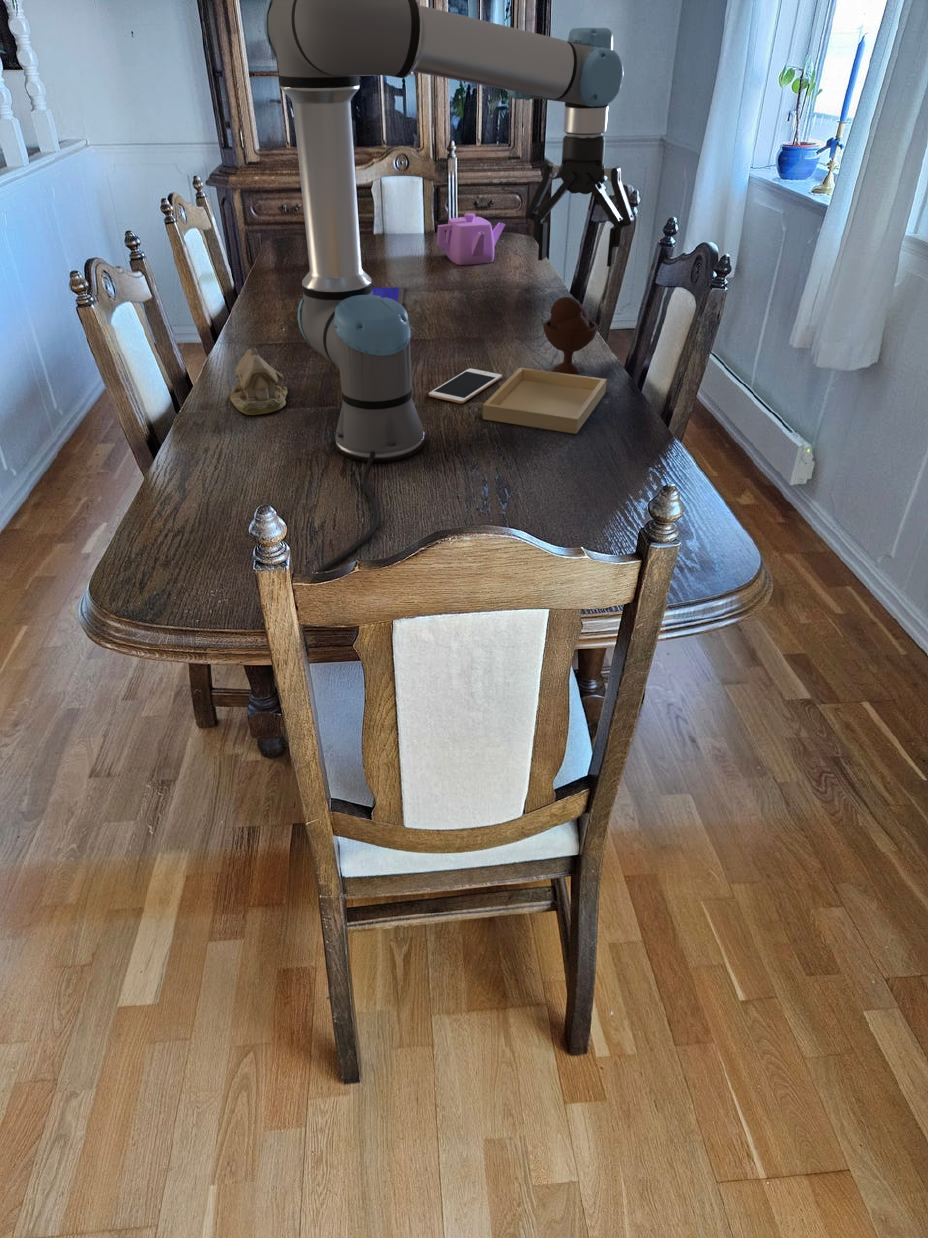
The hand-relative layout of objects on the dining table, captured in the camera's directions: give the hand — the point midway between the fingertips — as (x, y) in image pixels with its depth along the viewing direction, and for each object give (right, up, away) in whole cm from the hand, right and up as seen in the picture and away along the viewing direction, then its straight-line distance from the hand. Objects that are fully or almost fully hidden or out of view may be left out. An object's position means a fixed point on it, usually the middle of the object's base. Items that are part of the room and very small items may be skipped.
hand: (575, 261), depth 159 cm
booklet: (-45, +11, +51) cm, 69 cm away
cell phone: (-21, -23, +5) cm, 31 cm away
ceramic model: (-61, -27, 0) cm, 66 cm away
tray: (-6, -28, -2) cm, 29 cm away
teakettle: (-19, +39, +89) cm, 99 cm away
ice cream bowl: (0, -17, +13) cm, 22 cm away
